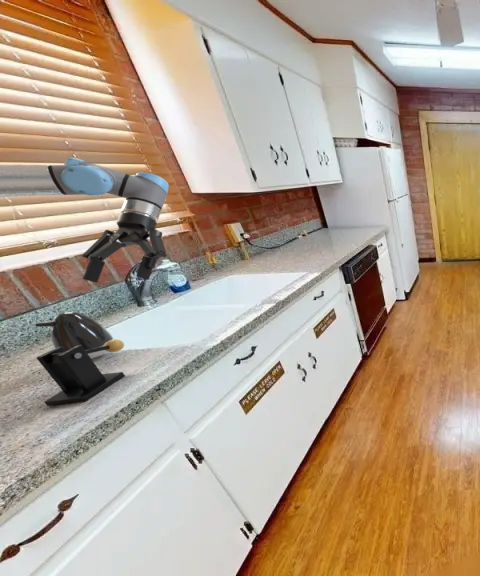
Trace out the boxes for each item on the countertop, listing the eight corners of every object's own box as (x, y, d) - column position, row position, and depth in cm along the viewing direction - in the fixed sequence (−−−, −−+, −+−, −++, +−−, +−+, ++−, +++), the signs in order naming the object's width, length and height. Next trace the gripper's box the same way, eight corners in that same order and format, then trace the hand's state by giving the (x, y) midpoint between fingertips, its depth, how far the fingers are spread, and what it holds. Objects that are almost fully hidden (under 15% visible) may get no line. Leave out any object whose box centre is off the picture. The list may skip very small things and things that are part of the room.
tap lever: (114, 350, 87) (112, 338, 86) (129, 349, 87) (127, 337, 87) (48, 366, 73) (46, 352, 73) (66, 364, 73) (64, 350, 73)
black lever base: (91, 379, 83) (63, 341, 77) (125, 375, 84) (100, 338, 79) (47, 406, 74) (12, 365, 68) (86, 402, 75) (55, 361, 70)
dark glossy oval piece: (59, 362, 90) (24, 318, 84) (110, 343, 98) (83, 303, 93) (74, 368, 86) (39, 323, 80) (126, 348, 95) (98, 307, 89)
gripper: (193, 222, 99) (176, 281, 92) (108, 225, 96) (84, 286, 89) (171, 209, 92) (150, 272, 85) (79, 212, 89) (49, 277, 82)
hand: (116, 279), depth 87 cm, fingers open, 13 cm apart
